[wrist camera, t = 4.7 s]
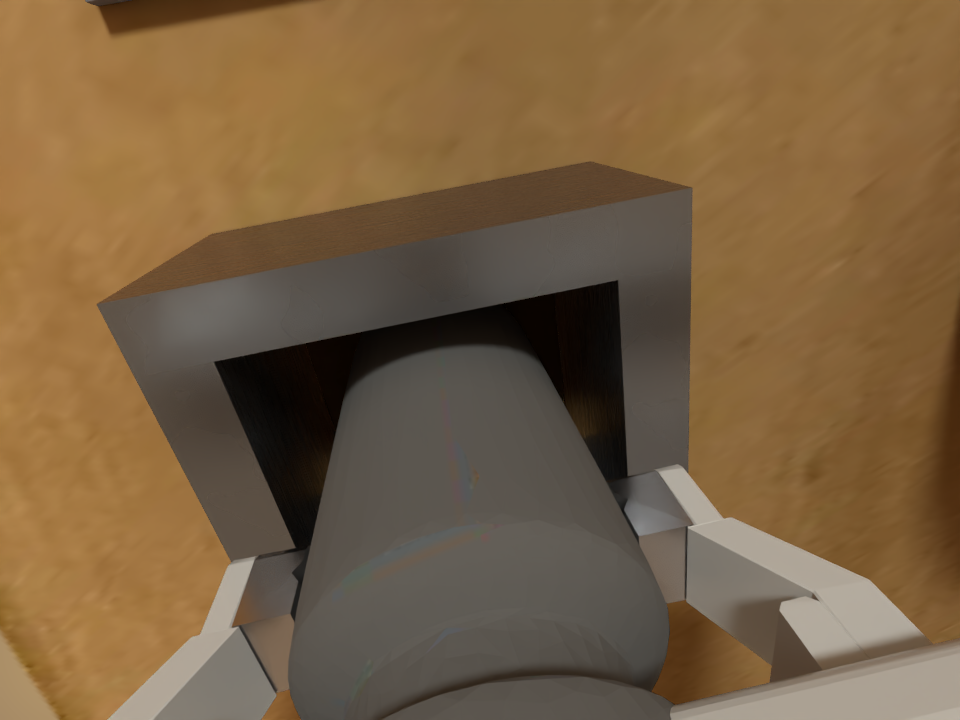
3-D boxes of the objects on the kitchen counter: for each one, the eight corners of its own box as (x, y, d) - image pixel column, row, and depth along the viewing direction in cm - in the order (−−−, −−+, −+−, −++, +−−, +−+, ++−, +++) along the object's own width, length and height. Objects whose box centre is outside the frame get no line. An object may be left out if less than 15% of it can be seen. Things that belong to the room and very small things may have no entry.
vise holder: (618, 574, 23) (684, 718, 17) (367, 630, 22) (354, 796, 17) (590, 161, 15) (692, 187, 10) (210, 234, 15) (96, 304, 9)
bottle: (397, 464, 19) (372, 1370, 5) (320, 323, 16) (-121, 1386, 3) (550, 406, 18) (940, 1195, 5) (497, 254, 16) (1003, 1028, 2)
